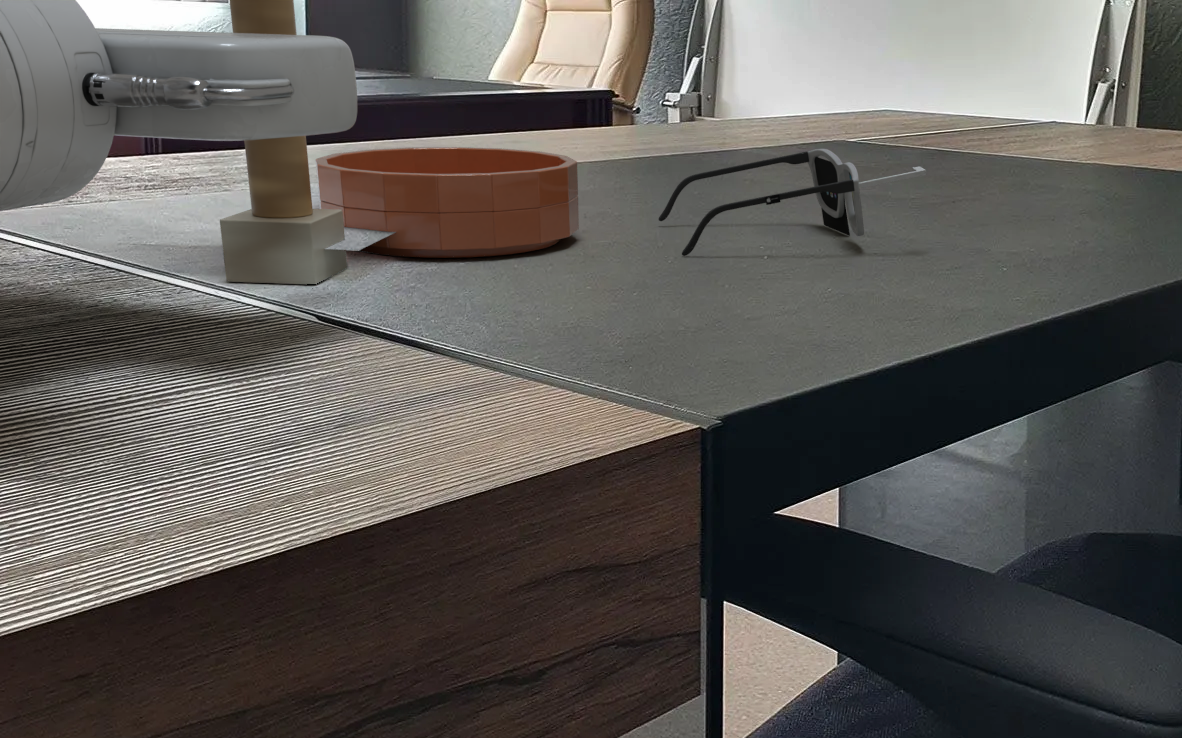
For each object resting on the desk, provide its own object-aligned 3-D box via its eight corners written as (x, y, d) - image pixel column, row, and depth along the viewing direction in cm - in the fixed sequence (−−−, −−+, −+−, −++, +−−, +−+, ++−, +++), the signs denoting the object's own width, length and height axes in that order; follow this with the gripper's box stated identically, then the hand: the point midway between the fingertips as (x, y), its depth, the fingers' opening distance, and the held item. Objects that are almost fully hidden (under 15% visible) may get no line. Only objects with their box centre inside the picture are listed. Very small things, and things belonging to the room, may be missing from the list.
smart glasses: (937, 246, 79) (927, 158, 77) (691, 298, 77) (674, 209, 75) (881, 210, 90) (871, 132, 88) (664, 255, 88) (649, 177, 86)
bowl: (283, 256, 74) (274, 169, 72) (372, 217, 87) (366, 144, 86) (548, 265, 73) (545, 178, 72) (597, 225, 87) (595, 151, 85)
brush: (226, 282, 67) (187, -53, 62) (263, 265, 71) (230, -49, 66) (315, 285, 67) (285, -50, 62) (347, 268, 71) (321, -47, 66)
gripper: (223, -1, 47) (426, 2, 59) (-262, -14, 51) (22, -9, 64) (243, 190, 49) (435, 153, 61) (-224, 160, 53) (44, 132, 66)
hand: (221, 70), depth 63 cm, fingers open, 8 cm apart
